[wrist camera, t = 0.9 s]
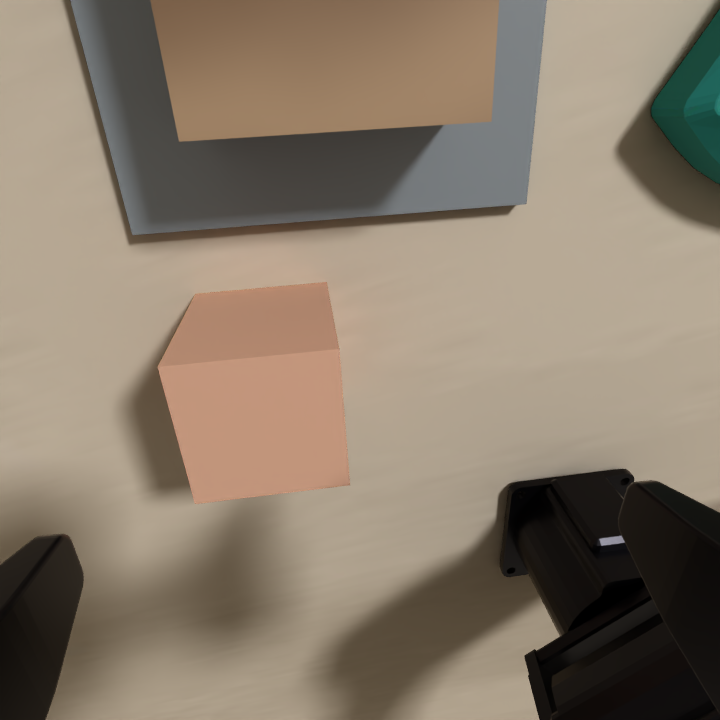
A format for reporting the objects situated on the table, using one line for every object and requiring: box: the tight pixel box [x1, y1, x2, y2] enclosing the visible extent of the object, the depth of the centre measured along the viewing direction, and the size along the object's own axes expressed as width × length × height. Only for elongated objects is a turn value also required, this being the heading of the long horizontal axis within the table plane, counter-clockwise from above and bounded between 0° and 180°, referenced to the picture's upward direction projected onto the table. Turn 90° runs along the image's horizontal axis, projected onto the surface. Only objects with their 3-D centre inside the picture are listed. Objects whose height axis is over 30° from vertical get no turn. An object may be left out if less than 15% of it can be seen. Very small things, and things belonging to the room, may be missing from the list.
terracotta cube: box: [158, 282, 350, 504], centre depth 18 cm, size 5×5×6 cm
